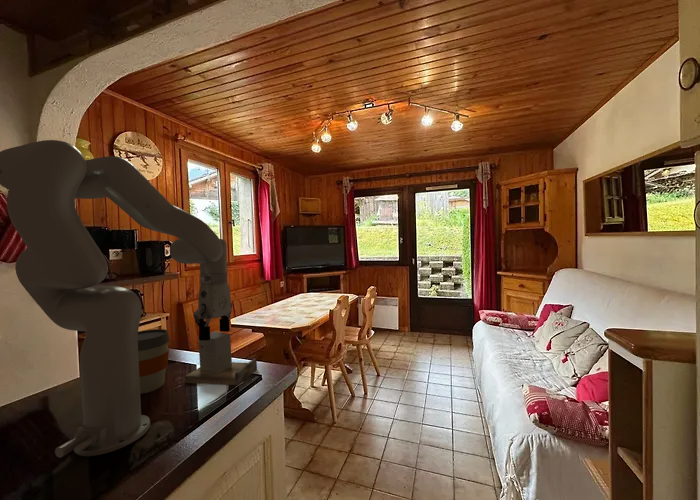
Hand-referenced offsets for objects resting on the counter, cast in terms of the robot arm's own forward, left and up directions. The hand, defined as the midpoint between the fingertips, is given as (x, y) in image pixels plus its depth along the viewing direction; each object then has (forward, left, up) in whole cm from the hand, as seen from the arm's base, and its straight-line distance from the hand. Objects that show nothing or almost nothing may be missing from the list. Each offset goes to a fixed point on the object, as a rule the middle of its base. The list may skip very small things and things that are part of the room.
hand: (215, 335), depth 91 cm
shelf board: (+1, -1, -13) cm, 13 cm away
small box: (+1, +1, -11) cm, 11 cm away
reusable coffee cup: (-8, +17, -13) cm, 23 cm away
